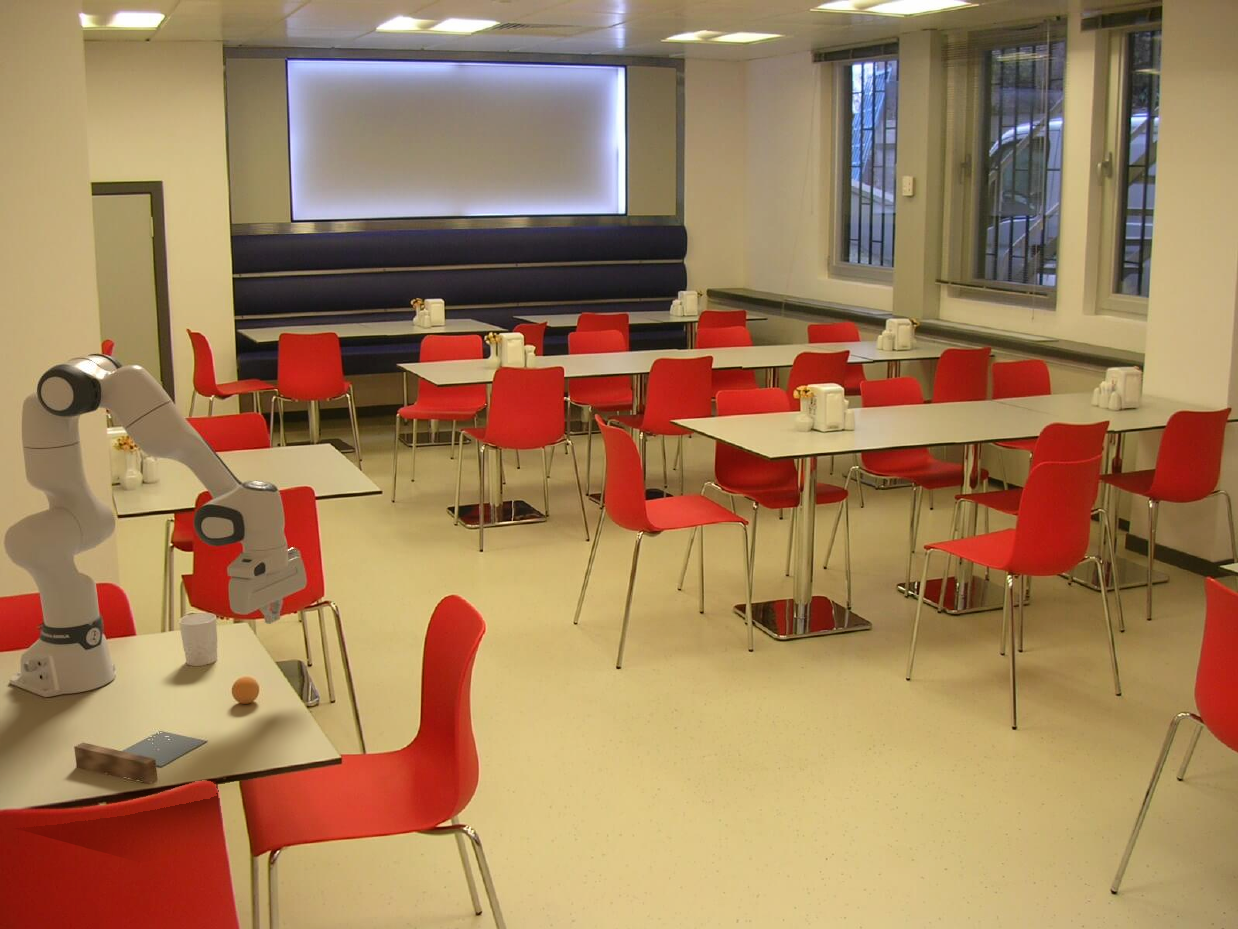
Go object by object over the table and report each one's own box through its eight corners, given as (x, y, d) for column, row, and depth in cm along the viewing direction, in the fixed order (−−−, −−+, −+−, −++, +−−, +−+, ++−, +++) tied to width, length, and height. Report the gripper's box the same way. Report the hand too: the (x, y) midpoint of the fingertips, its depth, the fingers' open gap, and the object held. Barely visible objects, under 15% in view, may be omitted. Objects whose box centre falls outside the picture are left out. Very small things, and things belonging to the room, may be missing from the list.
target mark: (113, 756, 250) (113, 755, 250) (160, 731, 260) (160, 730, 260) (161, 767, 244) (161, 766, 244) (207, 741, 255) (207, 740, 255)
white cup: (209, 668, 293) (205, 625, 291) (176, 666, 295) (172, 623, 292) (226, 655, 301) (222, 613, 298) (194, 653, 302) (190, 612, 300)
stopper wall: (76, 766, 246) (74, 746, 245) (85, 762, 247) (82, 742, 247) (149, 784, 238) (146, 763, 237) (157, 779, 240) (155, 758, 239)
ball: (227, 705, 272) (224, 680, 271) (245, 695, 277) (243, 671, 276) (248, 709, 270) (245, 684, 268) (266, 699, 275) (263, 674, 273)
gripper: (287, 543, 286) (293, 604, 289) (220, 570, 268) (227, 635, 271) (310, 546, 283) (316, 607, 286) (245, 573, 265) (251, 638, 268)
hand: (272, 621), depth 278 cm, fingers closed
